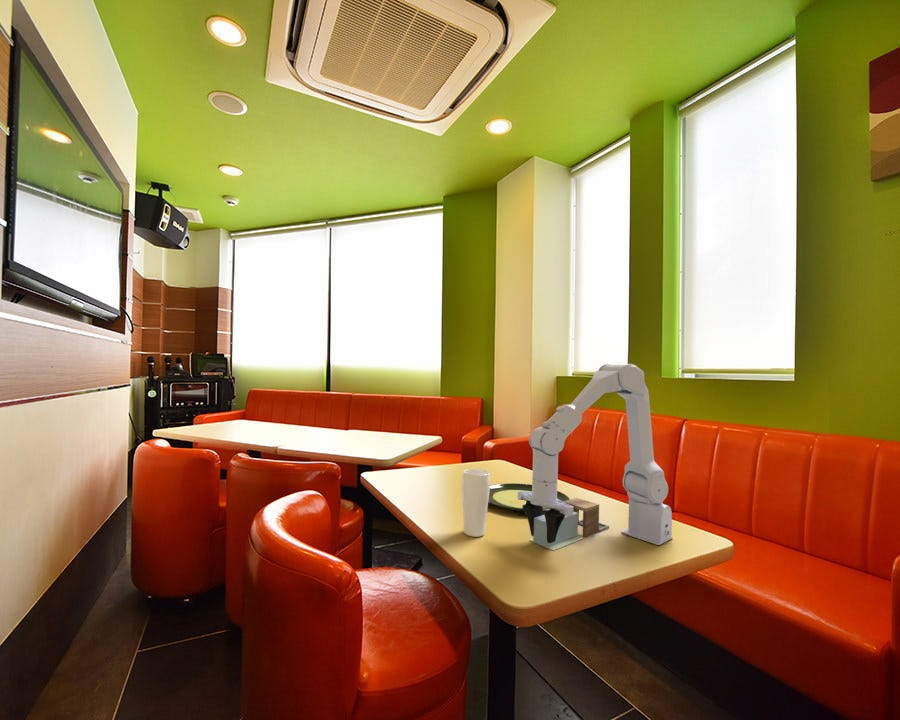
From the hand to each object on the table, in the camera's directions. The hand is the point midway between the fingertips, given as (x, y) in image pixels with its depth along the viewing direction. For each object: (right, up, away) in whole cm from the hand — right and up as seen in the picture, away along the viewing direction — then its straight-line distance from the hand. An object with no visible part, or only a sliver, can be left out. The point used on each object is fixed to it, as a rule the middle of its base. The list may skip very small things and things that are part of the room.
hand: (543, 538), depth 96 cm
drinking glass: (-16, -1, +5) cm, 17 cm away
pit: (+16, -2, +13) cm, 21 cm away
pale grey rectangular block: (+4, -2, +3) cm, 5 cm away
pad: (+4, -2, +3) cm, 5 cm away
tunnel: (+12, -2, +10) cm, 15 cm away
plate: (+1, -3, +32) cm, 32 cm away
